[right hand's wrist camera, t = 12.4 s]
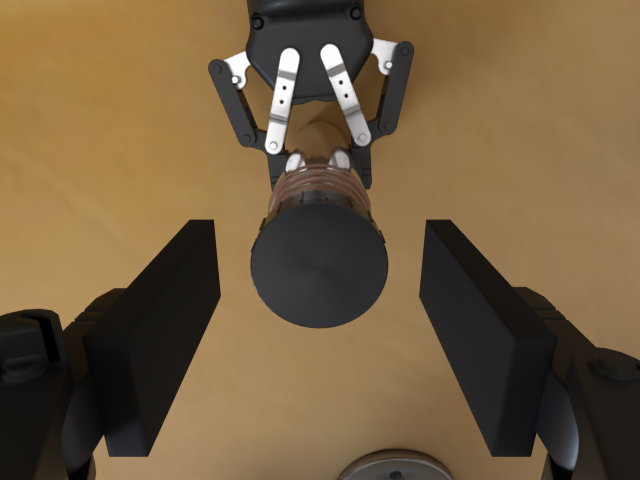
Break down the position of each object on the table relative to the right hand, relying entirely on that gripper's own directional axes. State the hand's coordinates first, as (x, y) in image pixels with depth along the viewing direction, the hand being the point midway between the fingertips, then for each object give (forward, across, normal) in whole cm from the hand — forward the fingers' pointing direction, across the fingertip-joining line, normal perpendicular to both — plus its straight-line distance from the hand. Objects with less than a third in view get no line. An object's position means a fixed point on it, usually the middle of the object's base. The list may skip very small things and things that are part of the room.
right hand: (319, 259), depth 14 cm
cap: (0, 0, 0) cm, 0 cm away
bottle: (+25, 0, 0) cm, 25 cm away
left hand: (+19, 0, -3) cm, 19 cm away
